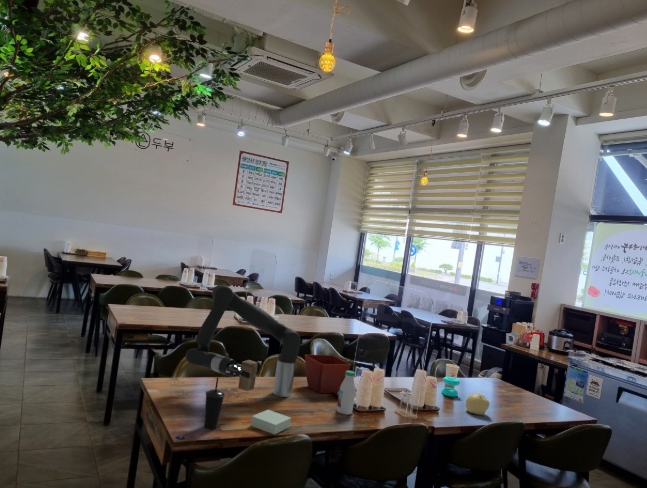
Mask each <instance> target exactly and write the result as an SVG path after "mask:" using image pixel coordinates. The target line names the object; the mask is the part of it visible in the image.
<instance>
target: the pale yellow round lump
mask: <svg viewBox="0 0 647 488" xmlns="http://www.w3.org/2000/svg"><path fill="white" fill-rule="evenodd" d="M464 406H465V408H466V410H467V412H469V413H471V414H474V415H479V416H483V415H484V414H485V413H487V410H488V409H490V401H489V399H487V398H486V397H485V395H484V394H483V393H481V394H480V393H477V392H475V393H472V394H470V395H468V396H467V398H466V399H465V405H464Z"/></svg>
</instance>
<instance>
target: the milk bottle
mask: <svg viewBox="0 0 647 488" xmlns="http://www.w3.org/2000/svg"><path fill="white" fill-rule="evenodd" d="M355 375H356V372H355V371H354V370H349V371H346V373H345V379H344V381H343V382H342V384H341V386H340V390H339V392H338V398H337V404H336V412H338V413H339V414H340V415H346V416H348V415H352V413H353V409H354V404H355V403H354V402H355V396H356V395H355V394H356V384H355V380H354V379H355Z"/></svg>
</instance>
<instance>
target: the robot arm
mask: <svg viewBox="0 0 647 488" xmlns="http://www.w3.org/2000/svg"><path fill="white" fill-rule="evenodd" d="M211 297H212V299H213V304H212V307H211V309H210V311H209V313H208V315H207V316H206V318H205V320H203V322H202V325H201V326H200V328H199V331H198V333H197V335H196V339H195V342H196V343H197V344H198V345H197V348H196V347H195V348H190V349H188V350H187V351H186V352H185V355H184V356H185V357H184V358H185V360H186V361H187V363H189V364H191V365H196V366H200V367H203V368H206V369H208V370H212V371H214V372H216V373H219V374H222V375H226V376H232V377H236V378H237V377H240V376H243V377H246V378H249V377H250V373H248V372H245V371H242V370H241V366H242V364H241V363H237V362H236V360H235V359H233V358H229V357H227V356H224V355H221V354H220V355H219V354H215V353H212V352H209V351H210V346H211V345H210V344H211V342H212V340H213V338H214V335H215V332H216V330H217V327H219V326H218V325H219V324H220V322H221V319H222V318H223V316H224V314H225V312H226V310H227V309H230V310H232V311H233V312H234V313H235V314H237V315H238V316H239V317H240V318H241V319H243V320H244V321H245V322H246V323H248V324H249V325H251V326H252V327H254V328H256V329H258V330H260V331H261V332H264V333H267V334H269V335H271V336H272V337H273V338H275V339H276V340H277V341H278V342H280V344H281V351H280V353H279V354H278V357H277V362H276V363H277V364H276V369H275V374H274V381H273V382H274V383H273V388H272V394H273V395H274V396H278V397H282V398H288V397H290V396H291V395H292V393H293V392H292V390H293V384H294V378H295V376H294V374H295V367H296V361H297V359H298V356H299V352H300V347H301V336H300V334H299V333H298V332H297V331H296V330H294V329H292V328H290V327H288V326H285V325H284V324H282V323H280V322H278V321H277V320H276V319H275V318H274V317H273V316H272V315H270V313H269V312H267V311H265V310H264V309H262V308H260V307H259V306H258V305H256V304H254V303H252V302H250V301H248V300H246V299H244V298H242V297H240V296H239V295H238V294H237V293H235V292H234V291H233V289H232V288H231V287H229V286H228V285H225V284H218V285H216V286H214V287H213V289H212V291H211ZM257 376H258V370H257V371H256V377H257Z"/></svg>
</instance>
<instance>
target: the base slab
mask: <svg viewBox="0 0 647 488" xmlns="http://www.w3.org/2000/svg"><path fill="white" fill-rule="evenodd" d="M291 421H292V417H290V416H287V415H284V414H282V413H279V412H276V411H273V410H271V409H266V410H264V411H261V412H259V413H257V414H254V415H252V416H251V420H250V422H251V423H250V426H251V427H254V428H256V429H259V430H260V431H261V430H262V431H264V432H266V433H269V434H272V435H276V434H278V433H281V432H282V431H284V430H286V429H289V428H290V427H291Z"/></svg>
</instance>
